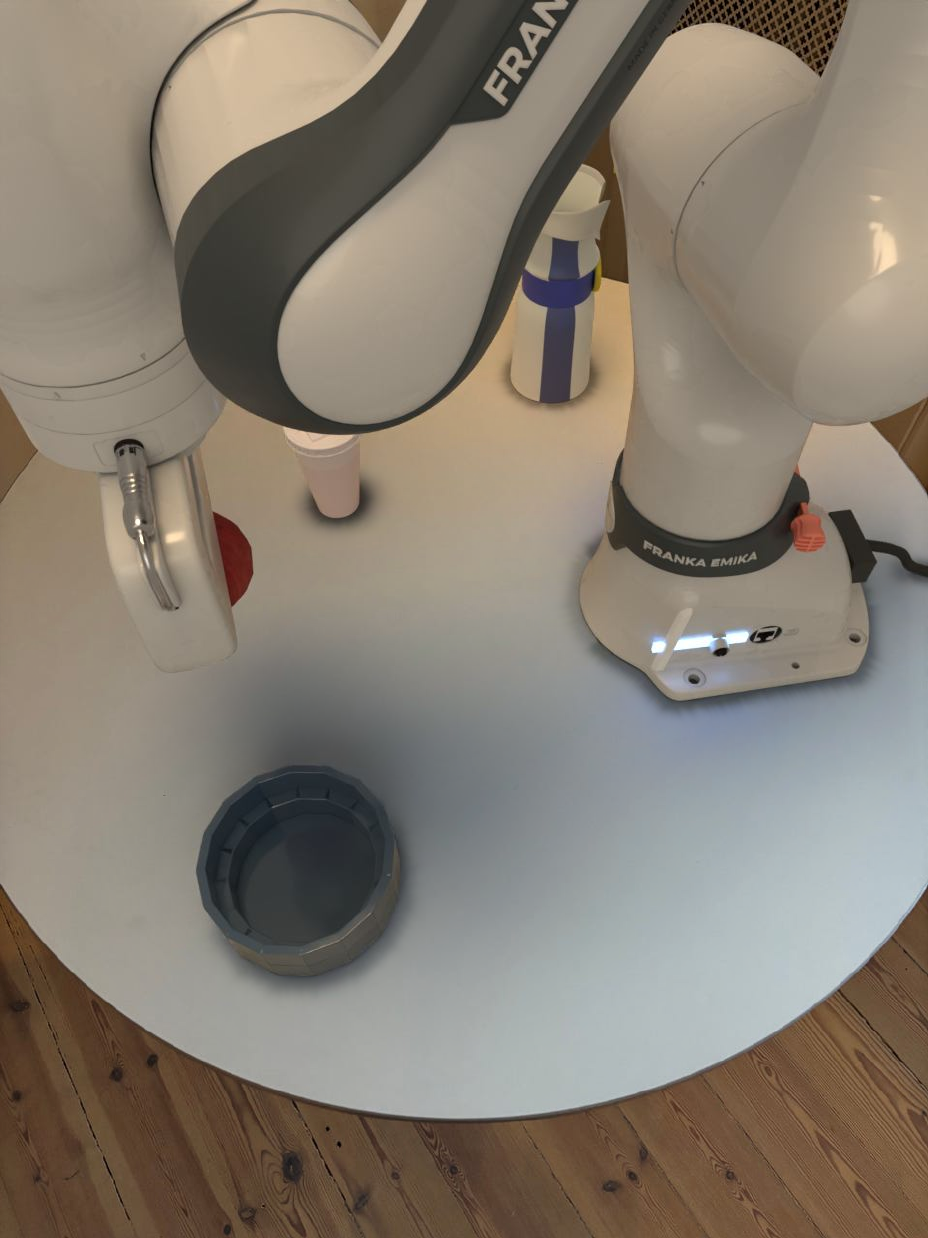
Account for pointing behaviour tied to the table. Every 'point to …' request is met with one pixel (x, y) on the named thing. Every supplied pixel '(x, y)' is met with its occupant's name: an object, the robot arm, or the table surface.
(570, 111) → the robot arm
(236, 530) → the red fruit
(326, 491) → the smoothie
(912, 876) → the table surface
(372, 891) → the bowl
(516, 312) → the water bottle
